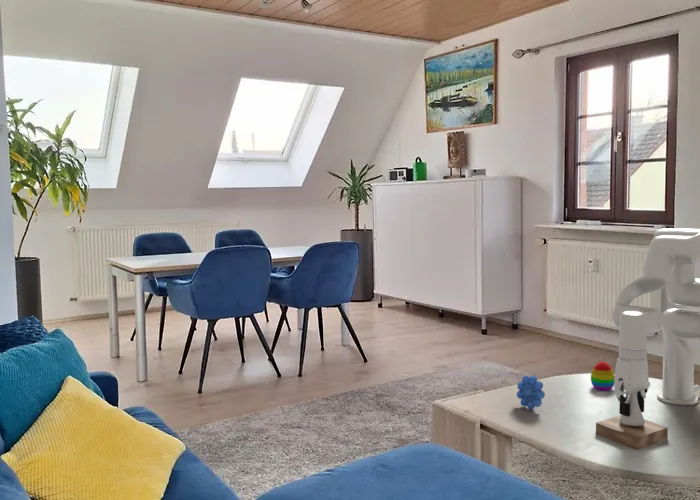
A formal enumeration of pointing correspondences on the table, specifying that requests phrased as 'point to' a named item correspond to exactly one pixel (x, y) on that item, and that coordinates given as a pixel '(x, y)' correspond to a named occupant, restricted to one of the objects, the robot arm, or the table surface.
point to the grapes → (530, 392)
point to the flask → (633, 413)
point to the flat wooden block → (632, 433)
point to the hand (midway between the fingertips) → (631, 412)
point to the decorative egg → (602, 377)
